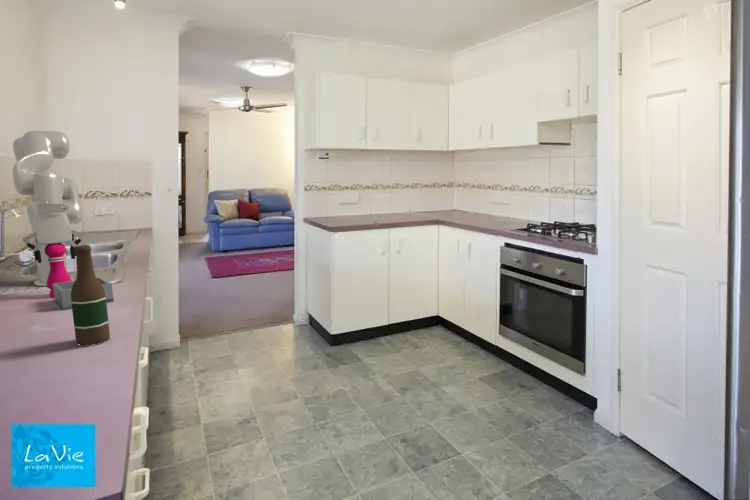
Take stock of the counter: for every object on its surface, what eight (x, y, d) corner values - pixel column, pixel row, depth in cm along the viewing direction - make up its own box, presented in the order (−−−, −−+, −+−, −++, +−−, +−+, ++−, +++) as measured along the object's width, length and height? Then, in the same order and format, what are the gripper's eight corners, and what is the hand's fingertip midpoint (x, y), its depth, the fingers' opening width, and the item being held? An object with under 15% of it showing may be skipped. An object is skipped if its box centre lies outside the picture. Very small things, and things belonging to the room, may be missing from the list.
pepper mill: (61, 298, 159) (53, 239, 156) (42, 297, 161) (35, 239, 158) (78, 293, 166) (71, 236, 163) (60, 292, 168) (53, 236, 165)
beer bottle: (101, 333, 123) (91, 242, 119) (117, 339, 119) (107, 244, 115) (69, 342, 117) (57, 246, 113) (84, 349, 113) (72, 249, 109)
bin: (54, 301, 156) (52, 283, 155) (102, 293, 165) (100, 276, 164) (63, 310, 146) (60, 291, 145) (113, 301, 155) (111, 283, 154)
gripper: (77, 208, 167) (83, 256, 170) (17, 211, 156) (23, 262, 158) (82, 208, 162) (88, 258, 164) (19, 211, 150) (27, 265, 153)
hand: (56, 260), depth 161 cm, fingers open, 9 cm apart
